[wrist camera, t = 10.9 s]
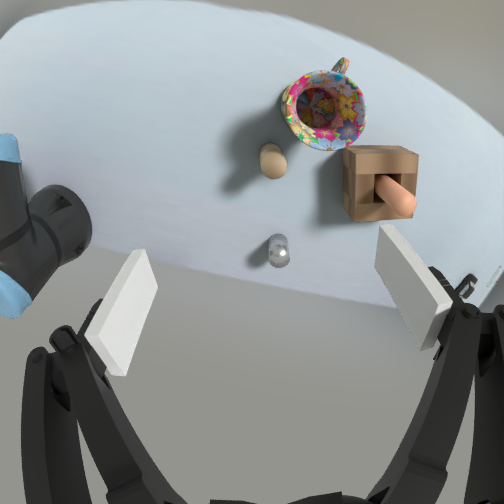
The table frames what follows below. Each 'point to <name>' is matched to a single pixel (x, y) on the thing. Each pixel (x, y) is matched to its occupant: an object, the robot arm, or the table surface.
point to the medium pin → (272, 161)
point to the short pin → (278, 251)
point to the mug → (325, 108)
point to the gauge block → (362, 179)
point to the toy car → (467, 286)
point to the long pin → (394, 195)
